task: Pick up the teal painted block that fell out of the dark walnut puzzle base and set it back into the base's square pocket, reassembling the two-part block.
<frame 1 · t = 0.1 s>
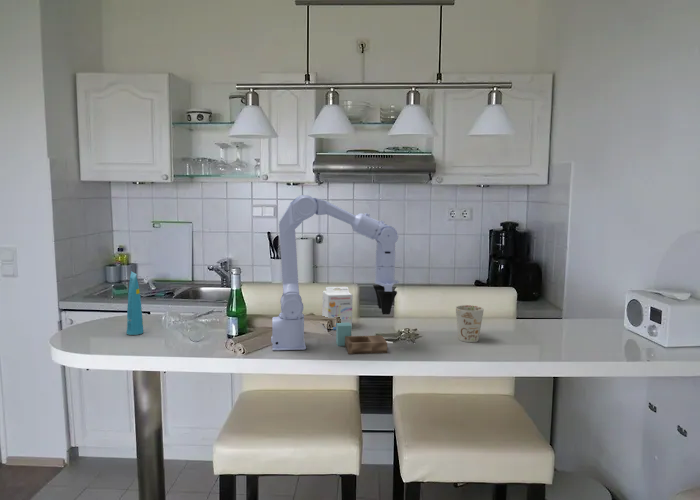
hand: (384, 311, 156), 10 cm above the breakfast bar, fingers open, 7 cm apart
mug: (470, 338, 165), on the breakfast bar
ink box: (336, 327, 177), on the breakfast bar
tube: (135, 333, 165), on the breakfast bar
teal block: (343, 343, 157), on the breakfast bar
walnut base: (365, 349, 151), on the breakfast bar
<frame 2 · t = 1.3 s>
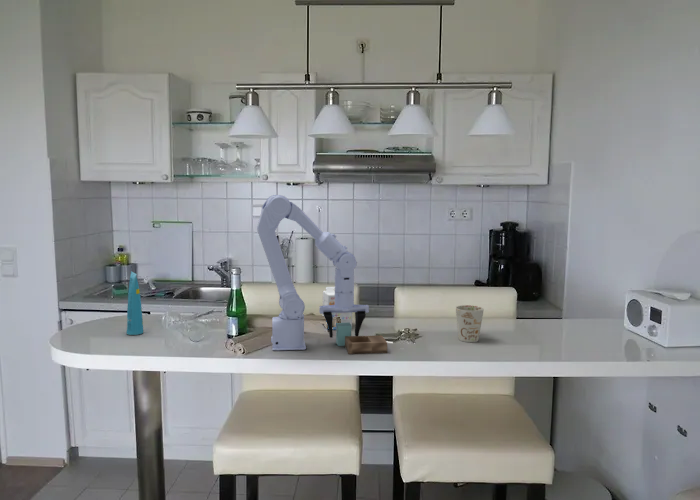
hand: (343, 336, 156), 2 cm above the breakfast bar, fingers open, 7 cm apart
nothing on the breakfast bar moved.
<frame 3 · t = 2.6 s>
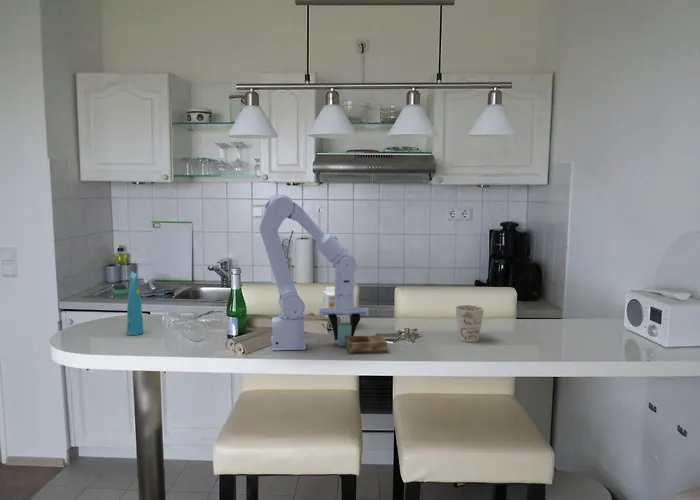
hand: (343, 339, 156), 1 cm above the breakfast bar, fingers closed on teal block, 4 cm apart
teal block: (343, 343, 157), on the breakfast bar, touching gripper
everything else where it was.
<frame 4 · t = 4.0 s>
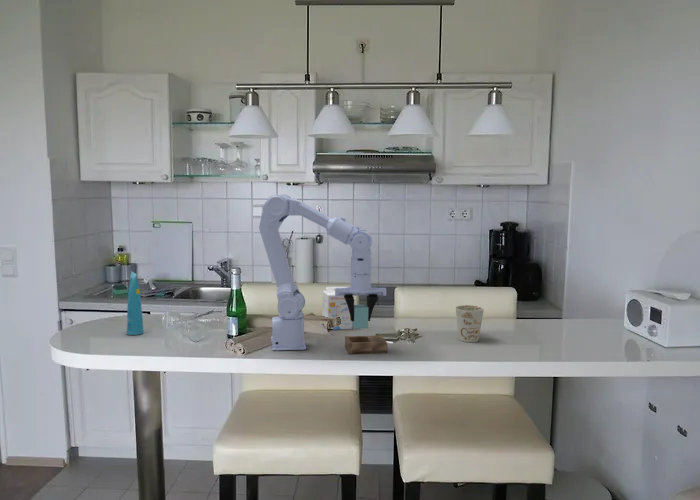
hand: (360, 320, 150), 9 cm above the breakfast bar, fingers closed on teal block, 4 cm apart
teal block: (360, 326, 150), point 7 cm above the breakfast bar, touching gripper
everything else where it was.
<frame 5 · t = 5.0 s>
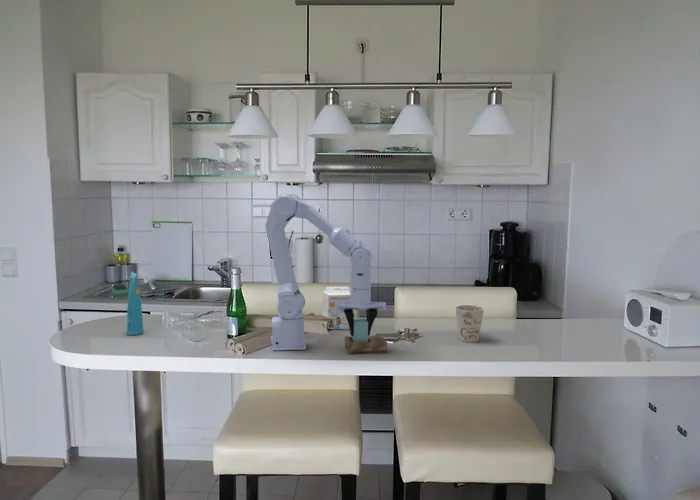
hand: (359, 334, 150), 4 cm above the breakfast bar, fingers closed on teal block, 4 cm apart
teal block: (359, 341, 151), point 3 cm above the breakfast bar, touching gripper
everything else where it was.
when the fingers open (4 cm above the breakfast bar, at t = 5.5 s): teal block drops 2 cm, resting on walnut base.
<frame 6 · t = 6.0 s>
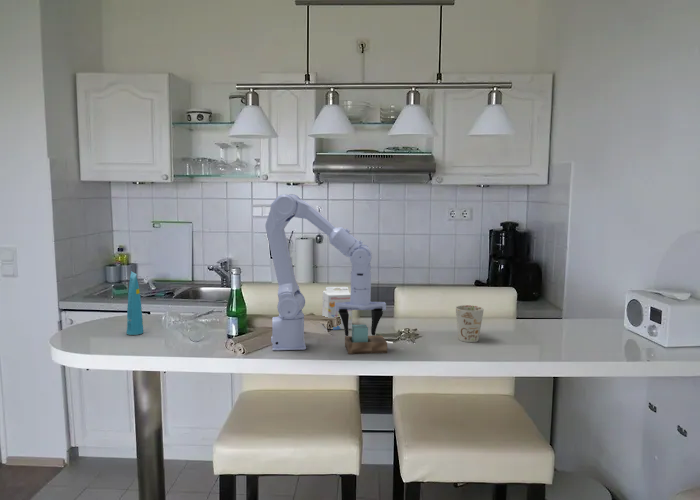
hand: (359, 334, 150), 4 cm above the breakfast bar, fingers open, 7 cm apart
teal block: (359, 346, 151), point 1 cm above the breakfast bar, touching walnut base
everything else where it was.
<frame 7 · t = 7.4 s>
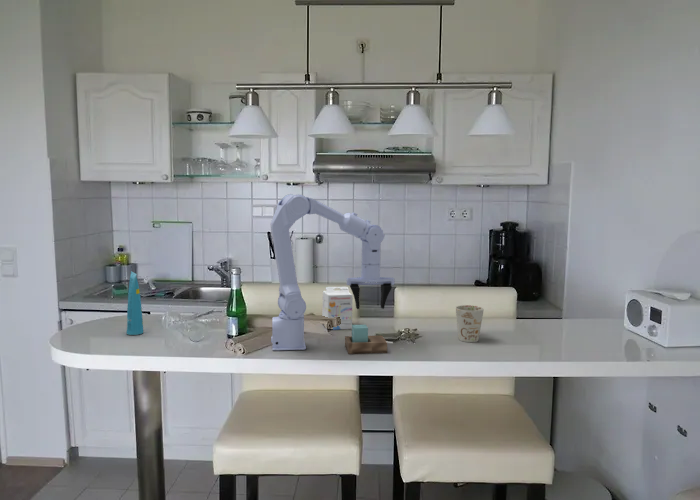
hand: (370, 308, 160), 10 cm above the breakfast bar, fingers open, 7 cm apart
nothing on the breakfast bar moved.
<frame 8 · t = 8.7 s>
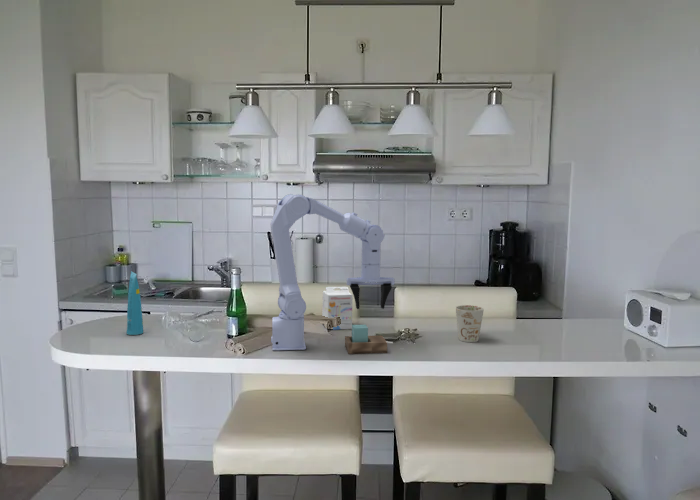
hand: (370, 308, 160), 10 cm above the breakfast bar, fingers open, 7 cm apart
nothing on the breakfast bar moved.
at the end: teal block 0.2 cm from the target spot on the walnut base, point 0.8 cm above the walnut base's base; teal block tilted 0°; the gripper is holding nothing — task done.
